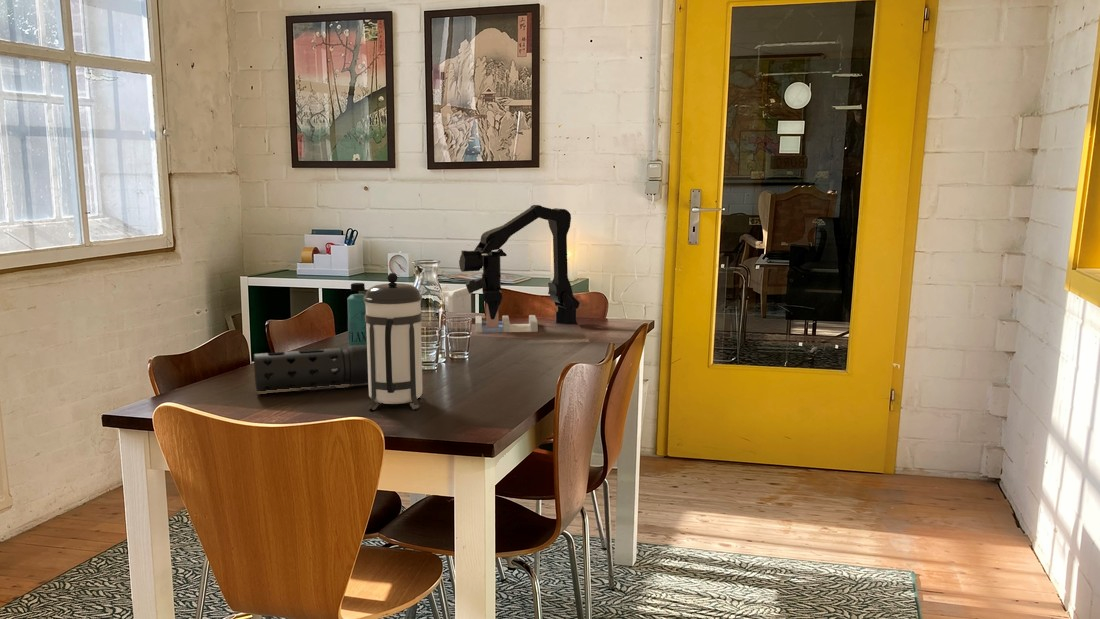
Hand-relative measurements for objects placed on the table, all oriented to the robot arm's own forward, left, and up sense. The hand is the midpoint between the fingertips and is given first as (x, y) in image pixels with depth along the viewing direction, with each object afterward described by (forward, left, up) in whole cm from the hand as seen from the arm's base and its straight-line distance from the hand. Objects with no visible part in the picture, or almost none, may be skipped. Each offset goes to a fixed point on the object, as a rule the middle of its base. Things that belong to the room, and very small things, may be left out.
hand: (492, 317), depth 282 cm
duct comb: (-4, 0, -5) cm, 6 cm away
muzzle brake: (+44, +73, -5) cm, 85 cm away
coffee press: (+23, +89, -5) cm, 92 cm away
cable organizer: (+15, -21, -5) cm, 26 cm away
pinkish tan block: (0, 0, -4) cm, 4 cm away
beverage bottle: (+40, +27, -5) cm, 48 cm away
